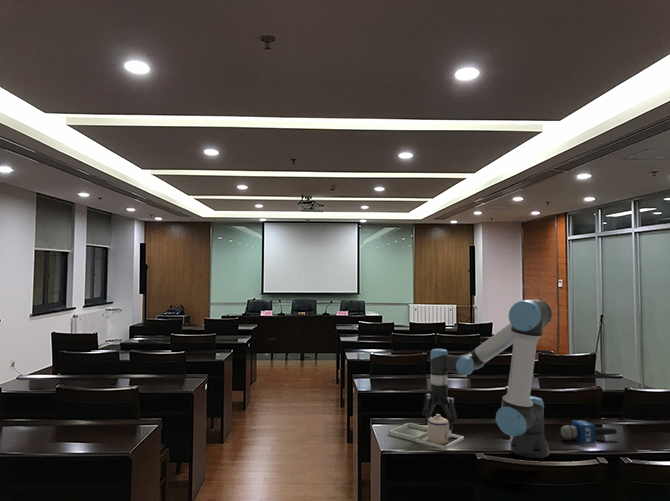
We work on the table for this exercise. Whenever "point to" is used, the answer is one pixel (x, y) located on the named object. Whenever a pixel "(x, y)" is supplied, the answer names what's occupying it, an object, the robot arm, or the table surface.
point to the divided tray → (421, 435)
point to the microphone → (584, 431)
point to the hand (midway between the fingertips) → (439, 434)
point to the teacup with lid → (437, 429)
